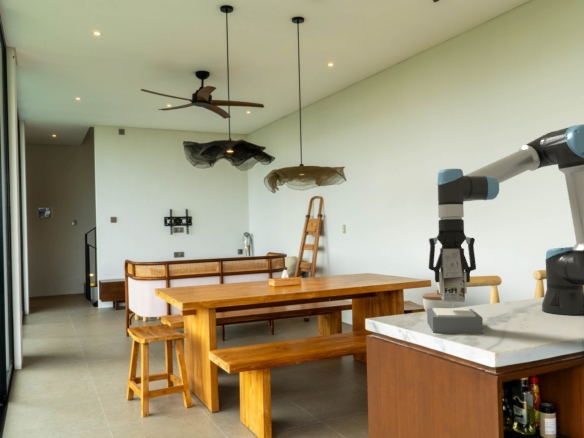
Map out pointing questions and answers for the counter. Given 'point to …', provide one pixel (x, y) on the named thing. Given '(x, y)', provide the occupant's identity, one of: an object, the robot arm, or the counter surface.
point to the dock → (454, 320)
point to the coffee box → (453, 275)
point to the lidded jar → (435, 301)
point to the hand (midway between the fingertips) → (452, 292)
